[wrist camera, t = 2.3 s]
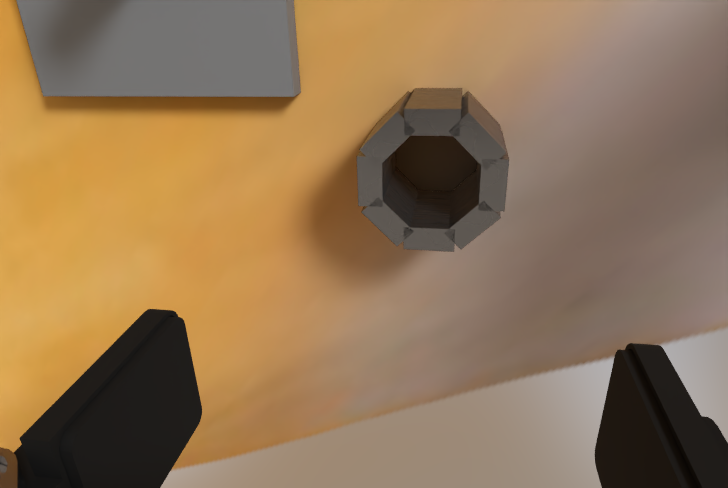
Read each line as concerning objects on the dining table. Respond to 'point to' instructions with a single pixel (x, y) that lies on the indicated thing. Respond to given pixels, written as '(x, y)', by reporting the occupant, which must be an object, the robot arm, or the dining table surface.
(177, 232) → the dining table surface
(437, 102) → the collar
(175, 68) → the post base
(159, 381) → the robot arm
